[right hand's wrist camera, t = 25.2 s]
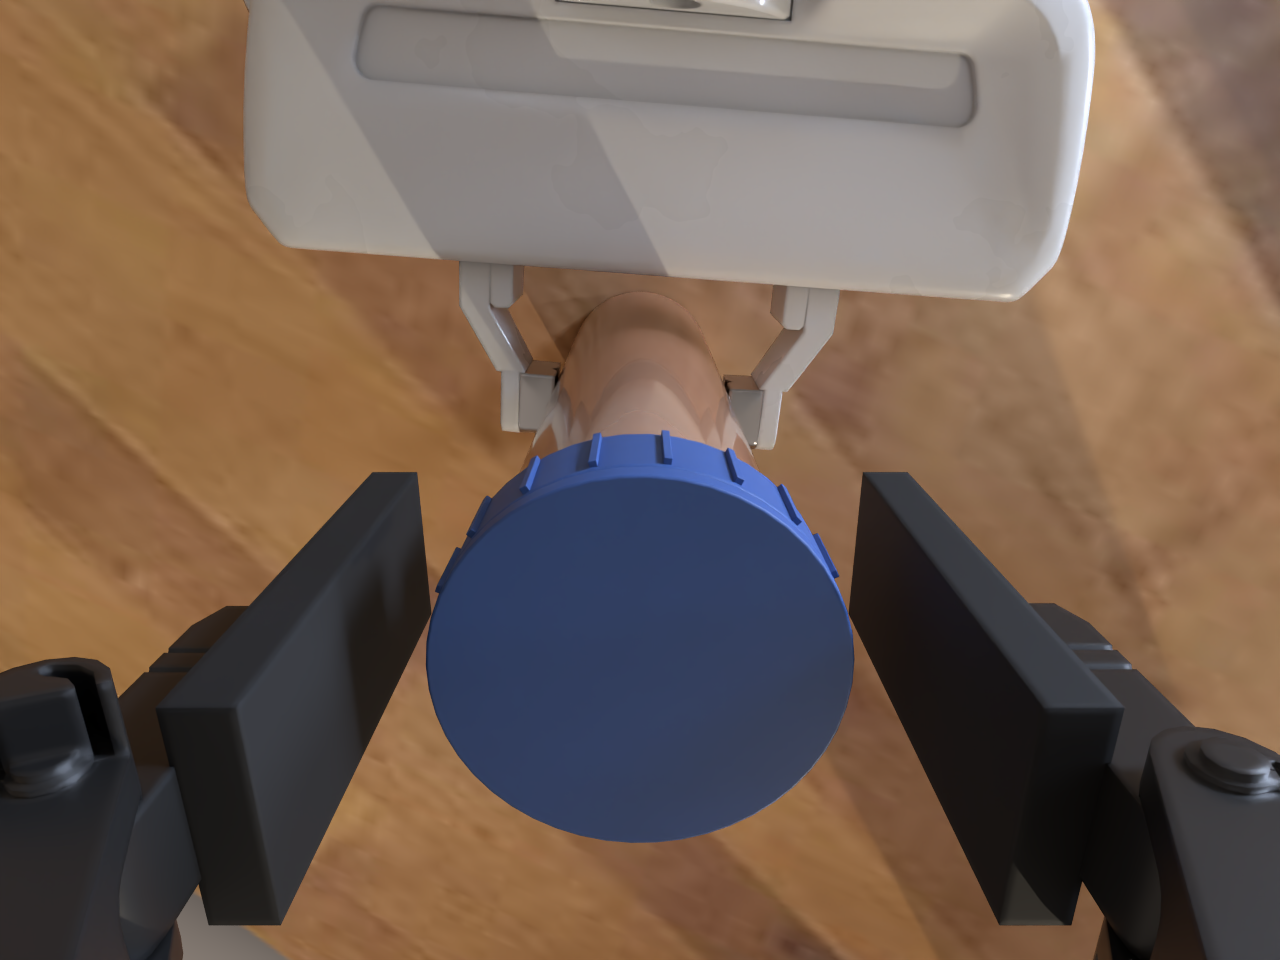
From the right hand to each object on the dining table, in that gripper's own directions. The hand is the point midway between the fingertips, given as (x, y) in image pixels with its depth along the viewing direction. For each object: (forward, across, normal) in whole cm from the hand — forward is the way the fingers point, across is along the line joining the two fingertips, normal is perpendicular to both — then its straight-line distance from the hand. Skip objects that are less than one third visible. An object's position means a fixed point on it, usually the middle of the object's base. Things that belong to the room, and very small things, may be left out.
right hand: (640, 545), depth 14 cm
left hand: (+10, 0, -1) cm, 10 cm away
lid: (-4, 0, 0) cm, 4 cm away
